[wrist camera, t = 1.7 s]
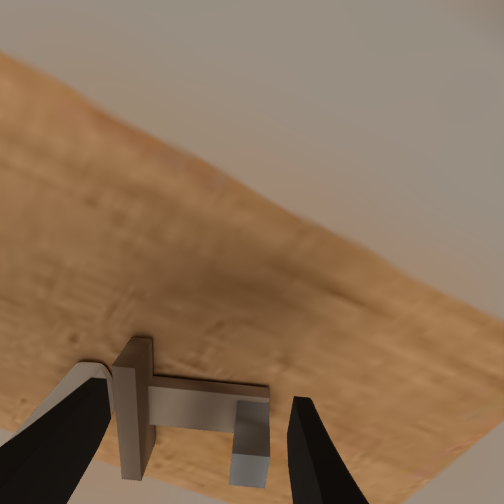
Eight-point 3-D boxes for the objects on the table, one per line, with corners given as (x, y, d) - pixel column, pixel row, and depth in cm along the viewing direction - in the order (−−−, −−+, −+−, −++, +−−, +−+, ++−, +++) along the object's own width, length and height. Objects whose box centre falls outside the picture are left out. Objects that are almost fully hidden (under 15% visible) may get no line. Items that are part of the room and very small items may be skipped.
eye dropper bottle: (134, 374, 23) (5, 599, 11) (109, 418, 24) (-24, 651, 13) (82, 351, 22) (-109, 563, 11) (60, 397, 24) (-123, 623, 12)
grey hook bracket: (137, 441, 25) (108, 509, 20) (131, 337, 21) (94, 390, 16) (259, 453, 25) (258, 524, 20) (274, 351, 21) (278, 409, 16)
